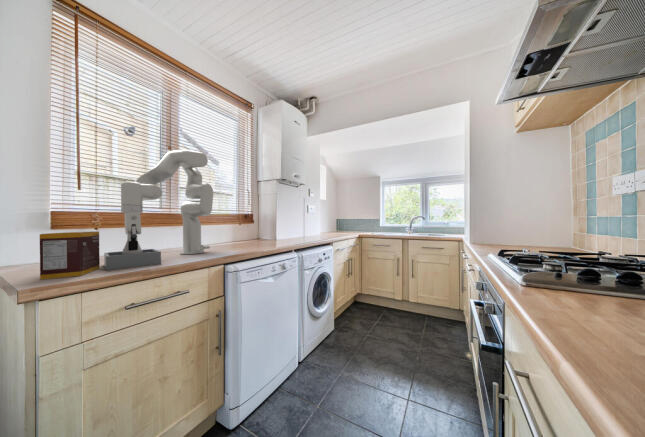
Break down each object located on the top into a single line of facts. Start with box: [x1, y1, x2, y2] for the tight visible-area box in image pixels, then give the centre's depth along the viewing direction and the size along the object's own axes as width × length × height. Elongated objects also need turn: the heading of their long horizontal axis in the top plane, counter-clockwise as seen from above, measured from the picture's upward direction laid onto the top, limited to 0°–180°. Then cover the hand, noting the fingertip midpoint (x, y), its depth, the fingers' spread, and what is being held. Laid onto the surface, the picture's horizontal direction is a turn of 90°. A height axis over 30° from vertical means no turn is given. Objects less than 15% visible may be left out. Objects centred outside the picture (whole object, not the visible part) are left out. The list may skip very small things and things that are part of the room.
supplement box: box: [39, 230, 101, 280], centre depth 86 cm, size 10×15×16 cm
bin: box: [103, 248, 162, 271], centre depth 103 cm, size 18×18×6 cm
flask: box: [121, 235, 143, 255], centre depth 103 cm, size 7×7×10 cm
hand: (132, 249), depth 103 cm, fingers closed on flask, 5 cm apart
